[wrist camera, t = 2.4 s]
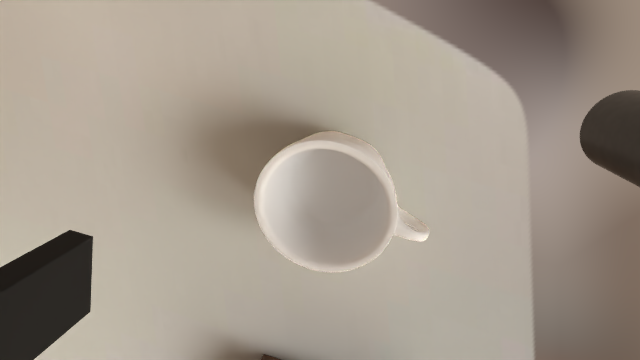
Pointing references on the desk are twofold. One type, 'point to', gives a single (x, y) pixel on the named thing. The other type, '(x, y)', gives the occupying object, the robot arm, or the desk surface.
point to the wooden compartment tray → (268, 357)
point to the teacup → (330, 203)
